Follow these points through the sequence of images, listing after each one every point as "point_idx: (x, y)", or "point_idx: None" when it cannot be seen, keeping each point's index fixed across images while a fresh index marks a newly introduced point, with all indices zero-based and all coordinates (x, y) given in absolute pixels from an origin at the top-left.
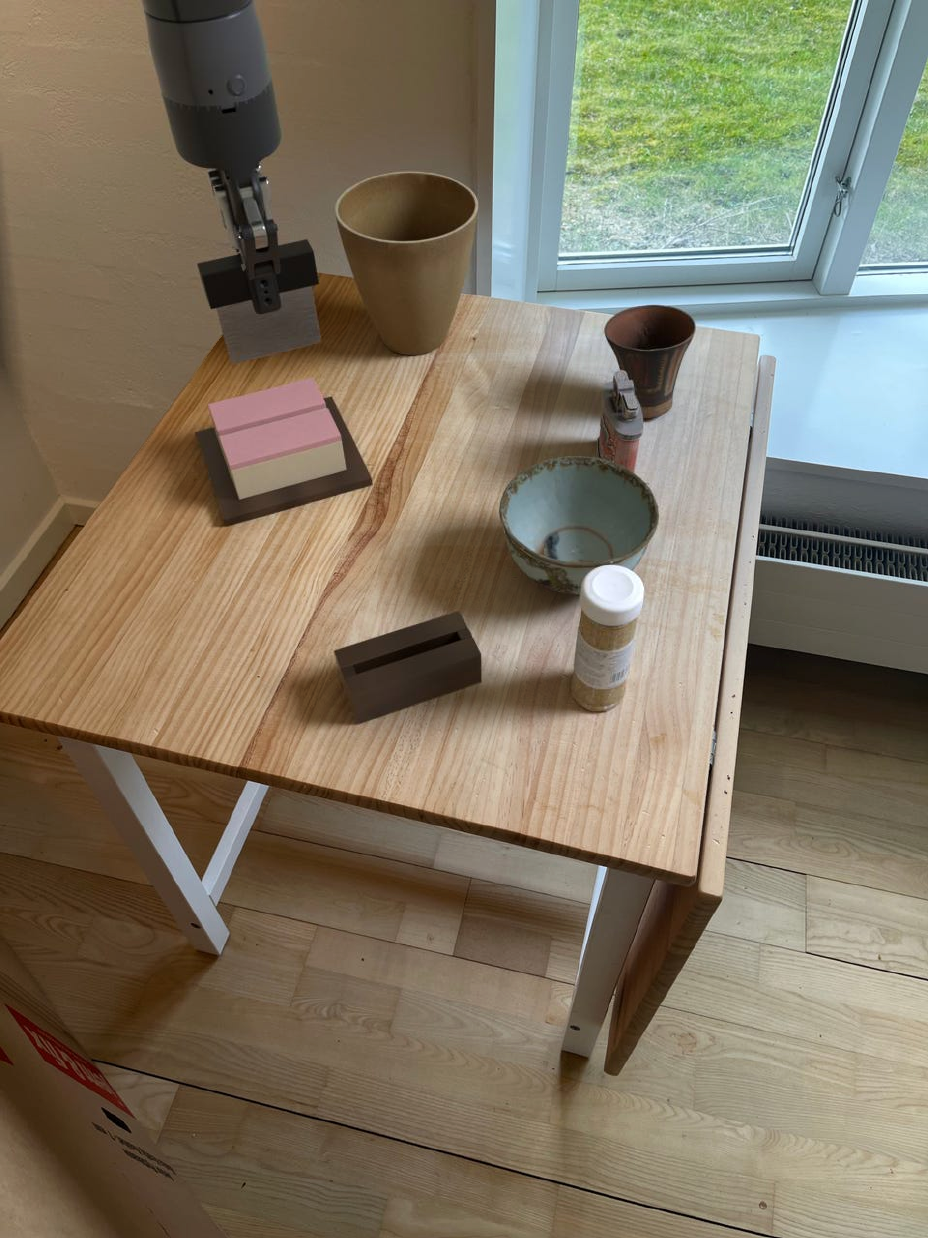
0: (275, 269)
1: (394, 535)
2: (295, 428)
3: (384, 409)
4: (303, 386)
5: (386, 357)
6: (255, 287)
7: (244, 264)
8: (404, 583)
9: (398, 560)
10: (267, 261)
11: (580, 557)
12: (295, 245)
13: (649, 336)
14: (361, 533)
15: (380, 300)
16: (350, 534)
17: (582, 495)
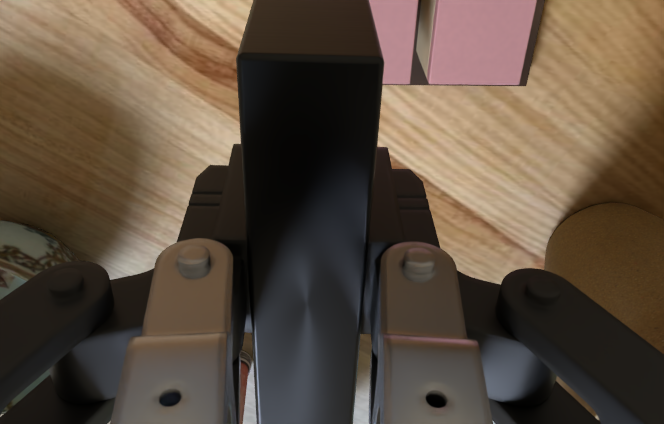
0: (46, 382)
1: (151, 71)
2: (378, 5)
3: (455, 151)
4: (501, 59)
5: (579, 193)
6: (190, 224)
7: (151, 285)
8: (37, 51)
9: (91, 58)
10: (66, 389)
11: (18, 279)
12: (321, 422)
13: None
14: (170, 22)
15: (608, 271)
16: (173, 3)
17: None
